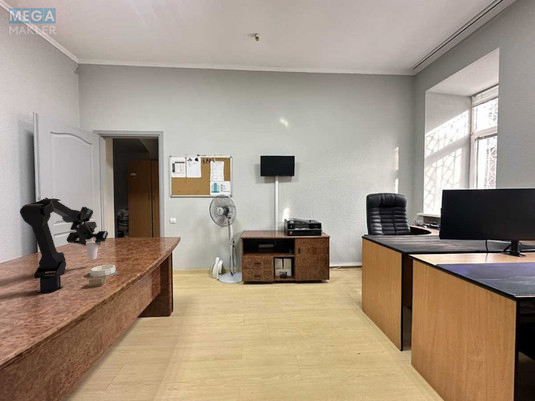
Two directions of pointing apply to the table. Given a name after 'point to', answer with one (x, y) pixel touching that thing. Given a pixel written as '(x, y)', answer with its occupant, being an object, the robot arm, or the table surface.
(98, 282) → the walnut block
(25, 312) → the table surface
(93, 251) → the smoothie
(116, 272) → the mat
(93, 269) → the white bowl
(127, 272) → the table surface
